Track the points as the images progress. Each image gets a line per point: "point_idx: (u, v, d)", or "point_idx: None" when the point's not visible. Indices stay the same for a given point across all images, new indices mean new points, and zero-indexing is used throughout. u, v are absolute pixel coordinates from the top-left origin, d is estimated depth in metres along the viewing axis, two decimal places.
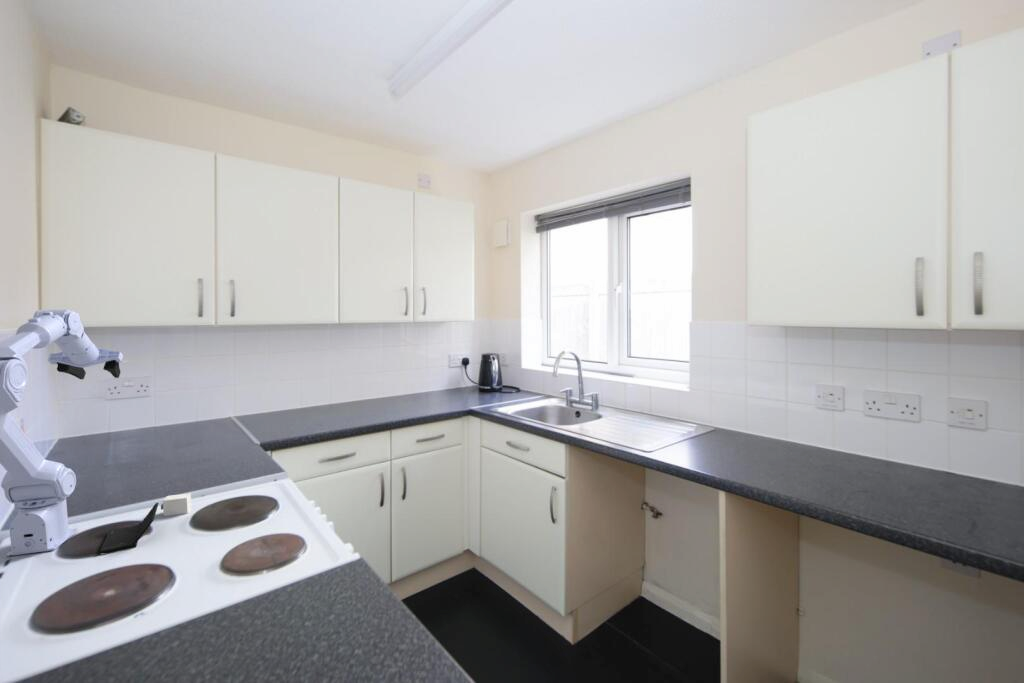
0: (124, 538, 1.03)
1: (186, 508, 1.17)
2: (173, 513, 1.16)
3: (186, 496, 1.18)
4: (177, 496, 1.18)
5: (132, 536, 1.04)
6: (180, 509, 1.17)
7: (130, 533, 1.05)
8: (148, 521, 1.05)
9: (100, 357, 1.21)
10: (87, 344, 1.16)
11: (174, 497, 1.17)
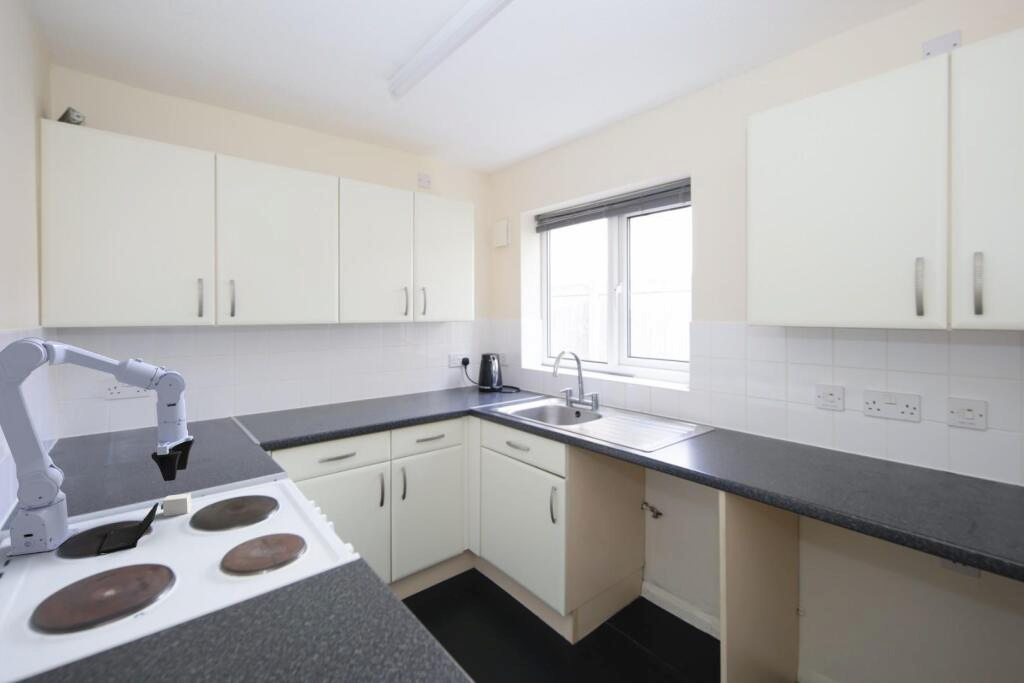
0: (124, 538, 1.03)
1: (186, 508, 1.17)
2: (173, 513, 1.16)
3: (186, 496, 1.18)
4: (177, 496, 1.18)
5: (132, 536, 1.04)
6: (180, 509, 1.17)
7: (130, 533, 1.05)
8: (148, 521, 1.05)
9: (166, 443, 1.13)
10: (169, 418, 1.13)
11: (174, 497, 1.17)
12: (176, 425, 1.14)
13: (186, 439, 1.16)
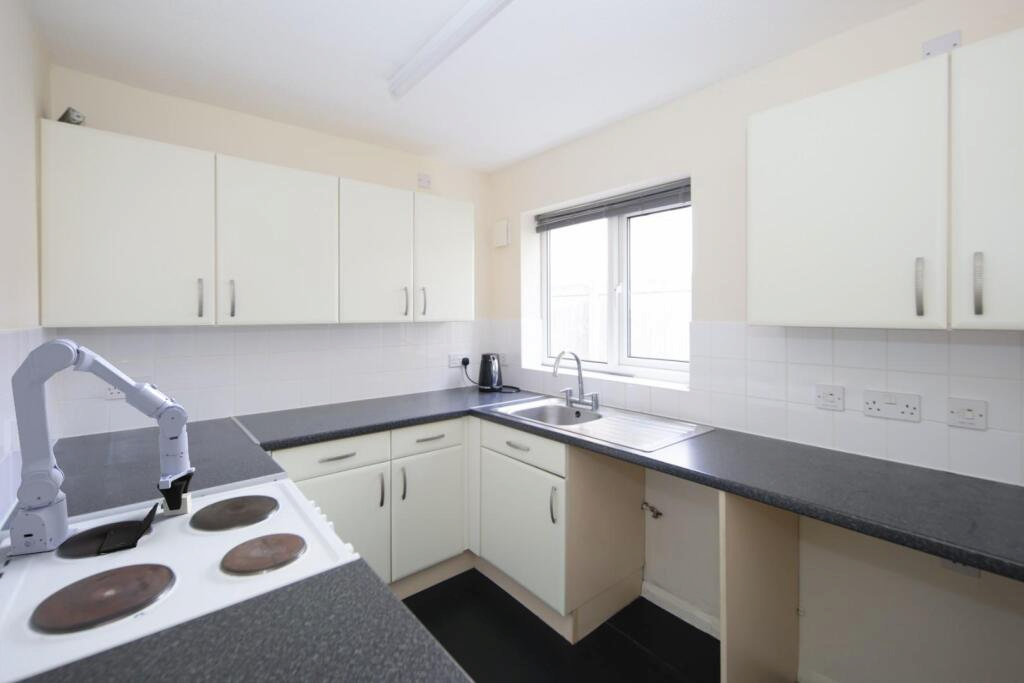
0: (124, 538, 1.03)
1: (186, 508, 1.17)
2: (173, 513, 1.16)
3: (186, 496, 1.18)
4: None
5: (132, 536, 1.04)
6: (180, 509, 1.17)
7: (130, 533, 1.05)
8: (148, 521, 1.05)
9: (168, 476, 1.14)
10: (171, 451, 1.14)
11: None
12: (178, 458, 1.15)
13: (188, 471, 1.17)
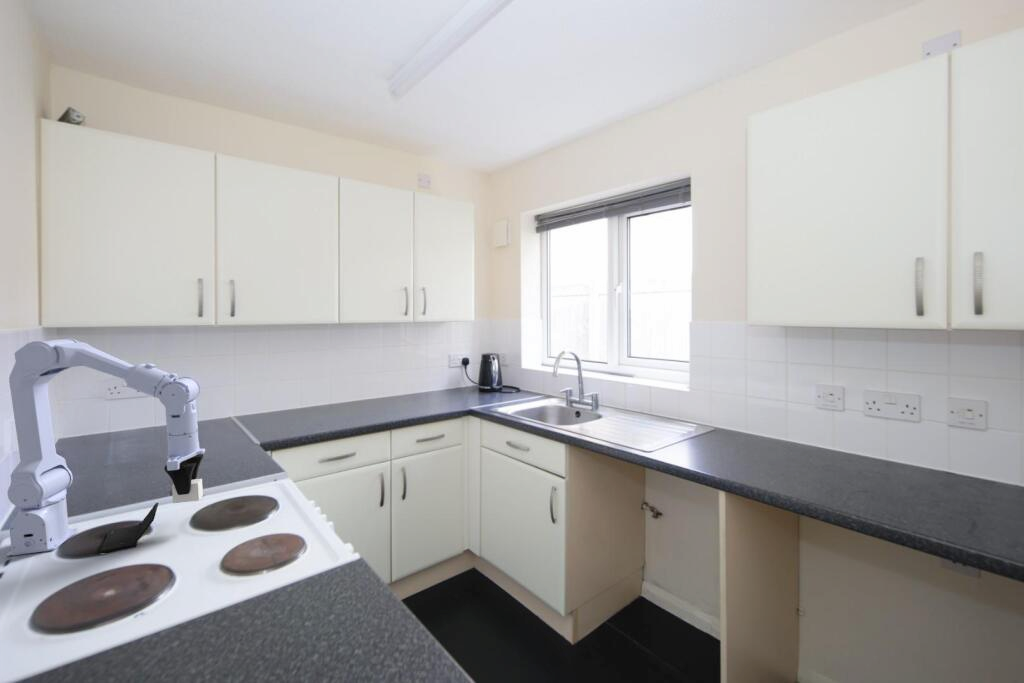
0: (124, 538, 1.03)
1: (197, 494, 1.08)
2: (183, 500, 1.07)
3: (197, 481, 1.08)
4: None
5: (132, 536, 1.04)
6: (190, 495, 1.07)
7: (130, 533, 1.05)
8: (148, 521, 1.05)
9: (176, 457, 1.04)
10: (173, 430, 1.04)
11: None
12: (187, 437, 1.05)
13: (198, 452, 1.07)
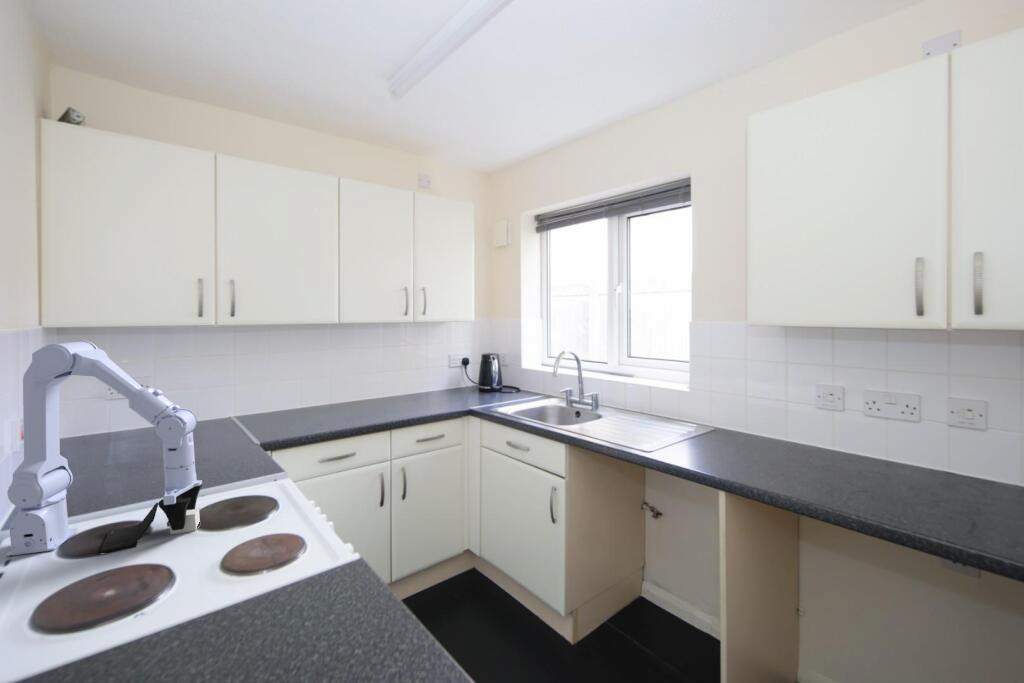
0: (124, 538, 1.03)
1: (194, 525, 1.08)
2: (180, 531, 1.07)
3: (194, 512, 1.09)
4: None
5: (132, 536, 1.04)
6: (188, 526, 1.08)
7: (130, 533, 1.05)
8: (148, 521, 1.05)
9: (173, 490, 1.05)
10: (170, 463, 1.04)
11: None
12: (184, 470, 1.06)
13: (195, 485, 1.08)
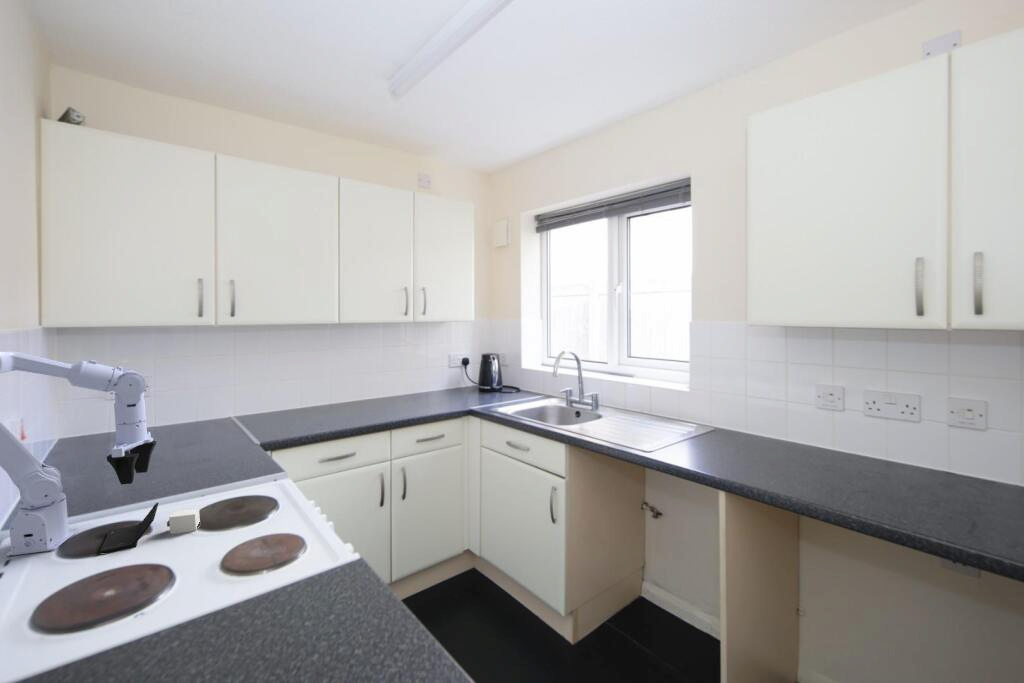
0: (124, 538, 1.03)
1: (194, 525, 1.08)
2: (180, 531, 1.07)
3: (194, 512, 1.09)
4: (184, 512, 1.09)
5: (132, 536, 1.04)
6: (188, 526, 1.08)
7: (130, 533, 1.05)
8: (148, 521, 1.05)
9: (123, 445, 1.10)
10: (128, 419, 1.10)
11: (181, 513, 1.08)
12: (134, 427, 1.11)
13: (145, 441, 1.13)
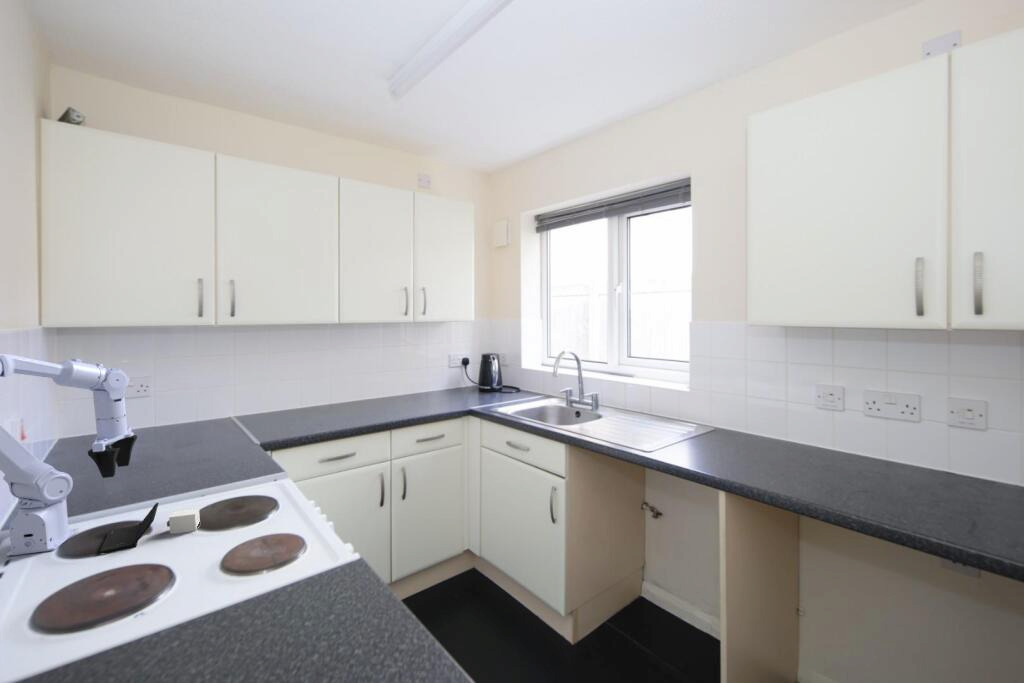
0: (124, 538, 1.03)
1: (194, 525, 1.08)
2: (180, 531, 1.07)
3: (194, 512, 1.09)
4: (184, 512, 1.09)
5: (132, 536, 1.04)
6: (188, 526, 1.08)
7: (130, 533, 1.05)
8: (148, 521, 1.05)
9: (103, 440, 1.13)
10: (116, 413, 1.14)
11: (181, 513, 1.08)
12: (114, 422, 1.14)
13: (126, 436, 1.16)
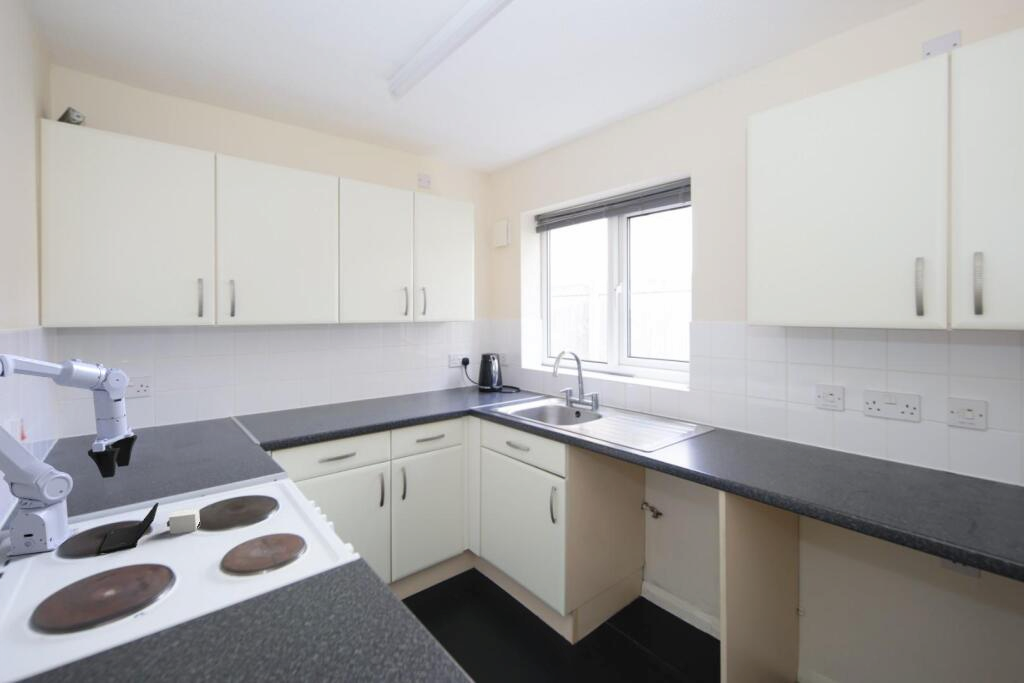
0: (124, 538, 1.03)
1: (194, 525, 1.08)
2: (180, 531, 1.07)
3: (194, 512, 1.09)
4: (184, 512, 1.09)
5: (132, 536, 1.04)
6: (188, 526, 1.08)
7: (130, 533, 1.05)
8: (148, 521, 1.05)
9: (103, 440, 1.13)
10: (116, 413, 1.14)
11: (181, 513, 1.08)
12: (114, 422, 1.14)
13: (126, 436, 1.16)
